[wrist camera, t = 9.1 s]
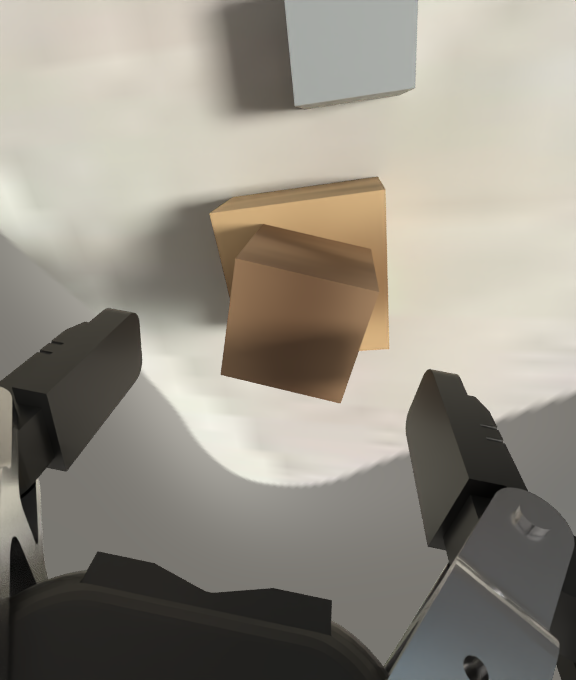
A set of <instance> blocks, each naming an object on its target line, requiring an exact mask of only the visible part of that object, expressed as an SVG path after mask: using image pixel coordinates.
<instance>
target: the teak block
mask: <svg viewBox="0 0 576 680" xmlns="http://www.w3.org/2000/svg"><path fill="white" fill-rule="evenodd" d="M209 214H210V218H211V222H212V226H213V230H214V234H215V239H216V243H217V247H218V251H219V255H220V259H221V263H222V268H223V272H224V276H225V280H226V284H227V288H228V292H229V297H231V289H232V281H233V274H234V266H235V258H236V257H237V256H238V254H239V253H240V252H241V251H242V249H243V248H244V247H245V246H246V244H247V243H248V242H249V241H250V239H251V238H252V237H253V236H254V234H255V233H256V232H257V231H258V229H259V228H260V227H261V226H262V224H266V225H270V226H275V227H279V228H283V229H287V230H292V231H296V232H300V233H305V234H309V235H313V236H317V237H322V238H326V239H330V240H335V241H339V242H343V243H347V244H352V245H356V246H360V247H365V248H369V249H371V252H372V257H373V262H374V267H375V272H376V277H377V283H378V288H379V295H378V297H377V300H376V303H375V306H374V309H373V312H372V315H371V317H370V320H369V323H368V326H367V329H366V332H365V335H364V338H363V340H362V343H361V346H360V349H359V351H363V350H379V349H389V320H388V279H387V238H386V197H385V188H384V186H383V185H382V183H381V181H380V180H379V178H378V177H372V178H365V179H358V180H351V181H344V182H337V183H330V184H323V185H316V186H309V187H302V188H295V189H288V190H281V191H274V192H267V193H260V194H253V195H246V196H238V197H232V198H231V199H229V200H228V201H227V202H225V203H224V204H222V205H221V206H219V207H218V208H216V209H215V210H213V211H212V212H211V213H209Z"/></svg>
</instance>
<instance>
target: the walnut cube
mask: <svg viewBox="0 0 576 680" xmlns="http://www.w3.org/2000/svg"><path fill="white" fill-rule="evenodd" d="M378 295H379V288H378V283H377V277H376V272H375V267H374V262H373V257H372V252H371V249H369V248H365V247H360V246H356V245H352V244H347V243H343V242H339V241H335V240H330V239H326V238H322V237H317V236H313V235H309V234H305V233H300V232H296V231H292V230H287V229H283V228H279V227H275V226H270V225H266V224H262V226H261V227H260V228H259V229H258V231H257V232H256V233H255V234H254V236H253V237H252V238H251V239H250V241H249V242H248V243H247V244H246V246H245V247H244V248H243V249H242V251H241V252H240V253H239V254H238V256H237V257H236V258H235V266H234V274H233V281H232V289H231V297H230V305H229V313H228V321H227V329H226V337H225V344H224V352H223V360H222V368H221V375H224V376H228V377H232V378H236V379H241V380H245V381H249V382H253V383H257V384H261V385H266V386H270V387H274V388H278V389H282V390H286V391H291V392H295V393H299V394H303V395H307V396H311V397H316V398H320V399H324V400H328V401H332V402H337V403H341V401H342V398H343V395H344V392H345V389H346V386H347V383H348V380H349V378H350V375H351V372H352V369H353V366H354V363H355V360H356V358H357V355H358V352H359V349H360V346H361V343H362V340H363V338H364V335H365V332H366V329H367V326H368V323H369V320H370V317H371V315H372V312H373V309H374V306H375V303H376V300H377V297H378Z"/></svg>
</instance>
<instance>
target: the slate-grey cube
mask: <svg viewBox="0 0 576 680" xmlns="http://www.w3.org/2000/svg"><path fill="white" fill-rule="evenodd" d="M284 2H285V12H286V22H287V33H288V43H289V53H290V63H291V73H292V84H293V94H294V104H295V106H296V107H299V108H302V109H310V108H316V107H323V106H330V105H337V104H343V103H350V102H357V101H363V100H370V99H377V98H383V97H390V96H397V95H401V94H403V93H405V92H407V91H410V90H412V89H414V88H415V77H416V46H417V15H418V0H284Z"/></svg>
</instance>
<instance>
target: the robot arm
mask: <svg viewBox="0 0 576 680" xmlns="http://www.w3.org/2000/svg"><path fill="white" fill-rule="evenodd" d="M141 366H142V351H141V338H140V324H139V318H138V316H137V314H136V313H132V312H127V311H121V310H116V309H111V308H107V309H105V310H103V311H102V312H101V313H100V314H98V315H97V316H96V317H95V318H94V319H92V320H91V321H90V322H89V323H88V322H83V323H81V324H78V325H76V326H74V327H72V328H69V329H67V330H65V331H64V332H62V333H61V334H60V335H58V336H57V337H56V338H55V339H53V340H52V343H49V344H47V345H46V346H45V347H43V348H42V349H41V350H40V352H37V353H36V354H34V355H33V356H32V357H31V358H29V359H28V360H27V361H25V362H24V363H23V364H22V365H20V366H19V367H18V368H17V369H15V370H14V371H13V372H12V373H10V374H9V375H8V376H6V377H5V378H4V379H3V380H1V381H0V680H552V678H553V675H554V671H555V667H556V665H557V668H558V671H559V674H560V677H561V680H576V536H574V535H573V533H572V531H571V529H570V527H569V525H568V523H567V522H566V521H565V519H564V518H563V517H562V516H561V514H560V513H559V512H558V511H557V510H556V509H555V508H554V507H552V506H551V505H550V504H549V503H547V502H546V501H545V500H543V499H542V498H540V497H538V496H536V495H535V494H532V493H531V492H528V490H527V488H526V486H525V484H524V482H523V480H522V478H521V476H520V474H519V471H518V469H517V467H516V465H515V463H514V461H513V459H512V457H511V455H510V453H509V451H508V449H507V447H506V445H505V444H504V443H503V438H502V437H501V434H500V432H499V431H498V430H497V426H496V424H495V422H494V420H493V418H492V416H491V414H490V412H489V411H488V410H487V409H486V407H485V406H484V405H483V404H482V403H481V402H480V401H479V400H478V399H477V398H476V397H474V396H469V395H467V392H466V390H465V388H464V386H463V383H462V381H461V379H460V377H459V376H458V375H457V374H452V373H447V372H442V371H436V370H431V369H429V370H427V371H426V372H425V374H424V376H423V378H422V380H421V383H420V385H419V388H418V390H417V392H416V395H415V397H414V400H413V402H412V404H411V407H410V409H409V412H408V415H407V420H406V436H407V442H408V447H409V452H410V457H411V462H412V467H413V473H414V478H415V483H416V488H417V493H418V498H419V504H420V508H421V514H422V519H423V524H424V529H425V535H426V540H427V545H428V547H433V548H437V549H442V550H446V551H447V556H448V560H449V562H448V564H447V565H446V567H445V568H444V570H443V572H442V573H441V575H440V576H439V578H438V579H437V581H436V583H435V584H434V586H433V588H432V589H431V591H430V593H429V594H428V596H427V597H426V599H425V601H424V602H423V604H422V606H421V608H420V609H419V611H418V612H417V614H416V615H415V617H414V619H413V620H412V622H411V624H410V625H409V627H408V629H407V630H406V632H405V633H404V635H403V636H402V638H401V640H400V641H399V643H398V644H397V646H396V647H395V649H394V650H393V652H392V653H391V655H390V657H389V658H388V660H387V661H386V663H385V665H384V666H382V664H381V663H380V662H379V660H378V659H377V658H376V657H375V656H374V655H373V654H372V652H371V651H370V650H369V649H368V648H367V647H366V646H365V645H364V644H363V643H362V642H361V641H360V640H359V639H357V638H356V637H355V636H354V635H353V634H352V633H350V632H349V631H347V630H346V629H345V628H343V627H342V626H340V625H339V624H337V623H335V622H333V621H331V608H332V606H331V605H332V601H331V600H327V599H322V598H318V597H313V596H308V595H303V594H299V593H294V592H289V591H284V590H279V589H274V588H270V589H257V590H245V591H232V592H219V593H210V592H206V591H204V590H202V589H200V588H198V587H196V586H194V585H193V584H191V583H189V582H187V581H185V580H184V579H182V578H180V577H178V576H176V575H175V574H173V573H171V572H169V571H167V570H165V569H164V568H162V567H160V566H158V565H156V564H155V563H150V562H146V561H141V560H136V559H131V558H127V557H122V556H117V555H112V554H108V553H103V552H97V554H96V555H95V557H94V559H93V561H92V563H91V564H90V566H89V568H88V570H84V571H78V572H72V573H67V574H64V575H60V576H57V577H54V578H51V579H48V576H47V571H46V567H45V561H44V553H43V533H42V514H41V495H40V483H39V480H38V477H39V476H40V475H41V474H42V472H43V471H44V470H45V469H46V468H51V469H56V470H61V471H67V470H68V469H69V467H70V466H71V465H72V464H73V462H74V461H75V460H76V458H77V457H78V456H79V454H80V453H81V452H82V451H83V449H84V448H85V447H86V445H87V444H88V443H89V441H90V440H91V439H92V438H93V436H94V435H95V433H96V432H97V431H98V430H99V428H100V427H101V426H102V424H103V423H104V422H105V421H106V419H107V418H108V417H109V415H110V414H111V413H112V411H113V410H114V409H115V407H116V406H117V405H118V404H119V402H120V401H121V400H122V398H123V397H124V396H125V394H126V393H127V392H128V390H129V389H130V388H131V387H132V385H133V384H134V383H135V381H136V380H137V378H138V376H139V374H140V371H141Z"/></svg>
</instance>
